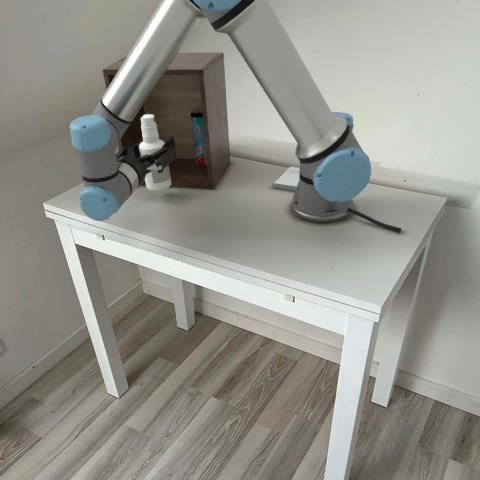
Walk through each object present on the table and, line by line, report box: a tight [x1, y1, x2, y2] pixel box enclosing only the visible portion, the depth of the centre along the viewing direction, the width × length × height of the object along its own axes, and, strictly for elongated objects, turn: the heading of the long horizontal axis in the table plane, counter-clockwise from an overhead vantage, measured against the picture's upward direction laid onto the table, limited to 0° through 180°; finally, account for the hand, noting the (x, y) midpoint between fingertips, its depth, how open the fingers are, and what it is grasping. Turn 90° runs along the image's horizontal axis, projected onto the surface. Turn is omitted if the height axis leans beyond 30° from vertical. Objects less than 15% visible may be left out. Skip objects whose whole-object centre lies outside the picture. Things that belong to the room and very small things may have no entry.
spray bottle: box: [139, 114, 171, 192], centre depth 125 cm, size 7×7×18 cm
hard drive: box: [272, 166, 300, 192], centre depth 137 cm, size 2×8×12 cm
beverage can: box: [190, 113, 207, 165], centre depth 145 cm, size 6×6×15 cm
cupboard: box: [101, 52, 231, 190], centre depth 136 cm, size 19×26×30 cm
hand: (159, 141), depth 128 cm, fingers closed on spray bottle, 7 cm apart
